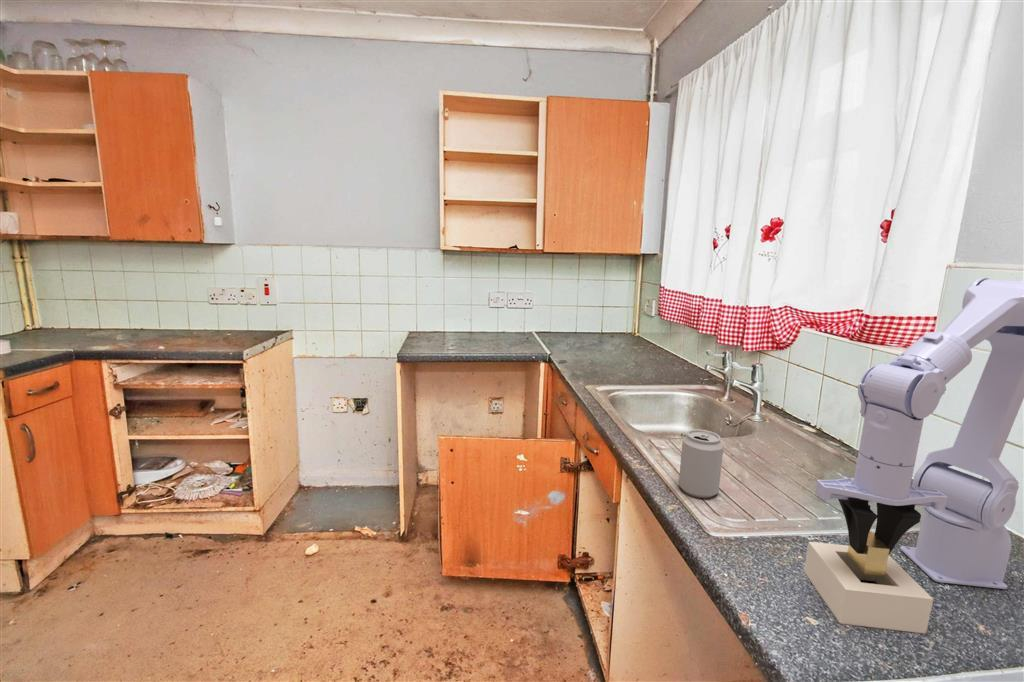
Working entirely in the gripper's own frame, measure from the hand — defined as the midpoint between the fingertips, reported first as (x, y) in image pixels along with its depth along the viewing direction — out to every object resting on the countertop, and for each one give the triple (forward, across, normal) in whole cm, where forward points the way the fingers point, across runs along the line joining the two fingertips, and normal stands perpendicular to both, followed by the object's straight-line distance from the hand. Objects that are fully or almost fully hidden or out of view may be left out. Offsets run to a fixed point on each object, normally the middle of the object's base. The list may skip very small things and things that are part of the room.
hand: (868, 550), depth 63 cm
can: (+8, +15, -28) cm, 32 cm away
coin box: (+8, 0, 0) cm, 8 cm away
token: (+2, 0, 0) cm, 2 cm away
